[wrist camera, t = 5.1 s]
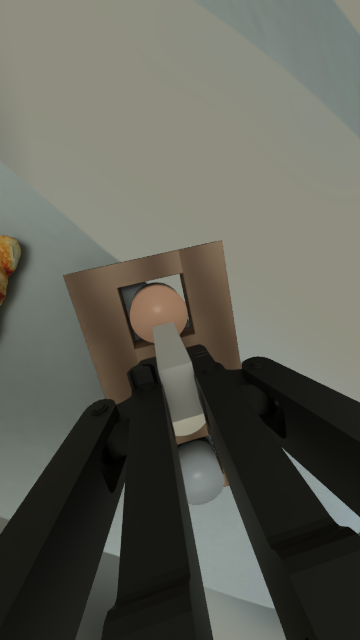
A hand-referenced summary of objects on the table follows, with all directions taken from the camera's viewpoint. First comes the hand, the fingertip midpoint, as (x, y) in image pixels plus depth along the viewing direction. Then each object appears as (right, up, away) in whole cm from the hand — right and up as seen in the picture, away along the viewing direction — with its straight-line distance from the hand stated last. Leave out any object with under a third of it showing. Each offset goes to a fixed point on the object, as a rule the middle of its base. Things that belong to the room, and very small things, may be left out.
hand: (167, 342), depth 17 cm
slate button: (+3, -14, +11) cm, 18 cm away
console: (0, -5, +10) cm, 12 cm away
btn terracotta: (-1, +3, +7) cm, 8 cm away
